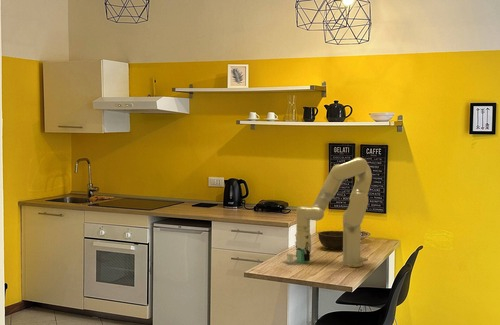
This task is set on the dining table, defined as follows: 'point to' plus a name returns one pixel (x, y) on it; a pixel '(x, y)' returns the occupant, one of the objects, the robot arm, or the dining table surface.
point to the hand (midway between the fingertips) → (302, 259)
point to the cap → (301, 256)
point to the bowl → (331, 239)
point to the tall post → (289, 258)
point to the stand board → (295, 263)
